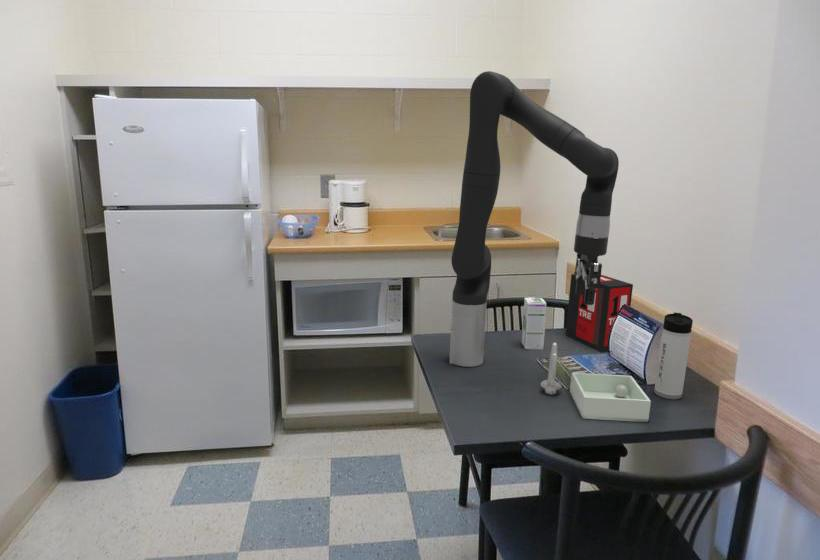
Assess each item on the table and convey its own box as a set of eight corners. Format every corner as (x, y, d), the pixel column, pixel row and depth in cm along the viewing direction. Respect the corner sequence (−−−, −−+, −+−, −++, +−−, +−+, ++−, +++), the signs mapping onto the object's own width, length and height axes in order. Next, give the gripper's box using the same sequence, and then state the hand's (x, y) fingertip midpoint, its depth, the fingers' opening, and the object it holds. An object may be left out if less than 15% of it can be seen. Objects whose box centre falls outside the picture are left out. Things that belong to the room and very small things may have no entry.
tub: (582, 418, 128) (584, 397, 127) (569, 391, 142) (571, 372, 141) (648, 422, 127) (650, 401, 126) (628, 395, 141) (631, 375, 140)
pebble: (616, 399, 137) (617, 387, 136) (612, 393, 140) (613, 382, 139) (628, 400, 137) (630, 388, 136) (625, 394, 140) (626, 383, 139)
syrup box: (543, 350, 170) (548, 302, 167) (523, 349, 170) (527, 301, 167) (539, 343, 176) (543, 297, 172) (520, 342, 176) (523, 296, 172)
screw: (558, 388, 143) (562, 397, 138) (538, 387, 143) (541, 396, 139) (563, 339, 140) (567, 345, 135) (543, 338, 140) (546, 344, 136)
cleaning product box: (625, 349, 173) (633, 284, 168) (602, 352, 169) (609, 286, 165) (587, 332, 188) (593, 272, 183) (565, 335, 184) (571, 274, 179)
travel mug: (680, 390, 144) (691, 314, 140) (683, 401, 138) (695, 321, 133) (653, 386, 146) (663, 310, 141) (654, 397, 140) (665, 318, 135)
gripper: (569, 228, 144) (562, 291, 148) (583, 237, 130) (575, 306, 134) (599, 230, 144) (592, 292, 148) (617, 239, 130) (608, 308, 134)
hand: (584, 299), depth 141 cm, fingers open, 8 cm apart
